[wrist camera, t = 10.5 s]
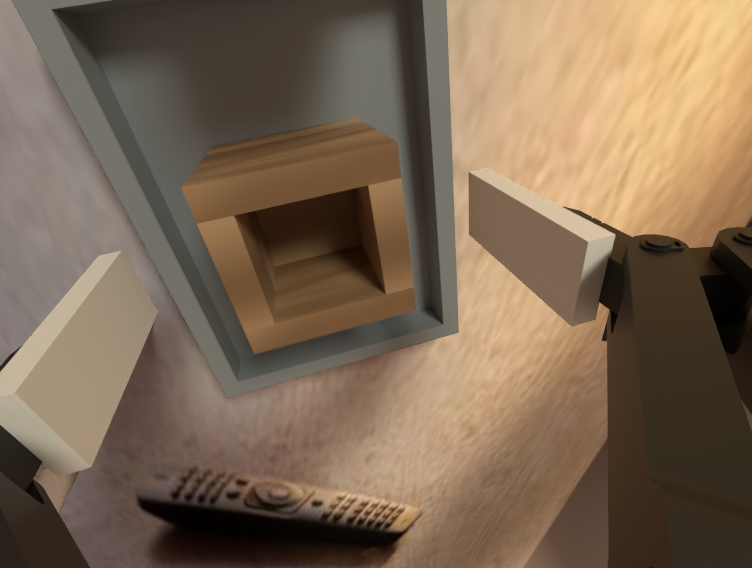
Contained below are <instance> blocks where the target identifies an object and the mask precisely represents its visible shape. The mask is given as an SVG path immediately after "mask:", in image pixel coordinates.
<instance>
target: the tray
mask: <svg viewBox="0 0 752 568" xmlns="http://www.w3.org/2000/svg"><path fill="white" fill-rule="evenodd" d="M12 2H13V4H14V6H15V7H16V9H17V11H18V13H19V15H20V17H21V18H22V20H23V22H24V24H25V26H26V28H27V30H28V31H29V33H30V35H31V37H32V39H33V41H34V42H35V44H36V46H37V48H38V50H39V52H40V54H41V55H42V57H43V59H44V61H45V63H46V65H47V66H48V68H49V70H50V72H51V74H52V76H53V78H54V79H55V81H56V83H57V85H58V87H59V89H60V90H61V92H62V94H63V96H64V98H65V100H66V102H67V103H68V105H69V107H70V109H71V111H72V113H73V114H74V116H75V118H76V120H77V122H78V124H79V126H80V127H81V129H82V131H83V133H84V135H85V137H86V139H87V140H88V142H89V144H90V146H91V148H92V150H93V151H94V153H95V155H96V157H97V159H98V161H99V163H100V164H101V166H102V168H103V170H104V172H105V174H106V175H107V177H108V179H109V181H110V183H111V185H112V187H113V188H114V190H115V192H116V194H117V196H118V198H119V199H120V201H121V203H122V205H123V207H124V209H125V211H126V212H127V214H128V216H129V218H130V220H131V222H132V223H133V225H134V227H135V229H136V231H137V233H138V235H139V236H140V238H141V240H142V242H143V244H144V246H145V247H146V249H147V251H148V253H149V255H150V257H151V259H152V260H153V262H154V264H155V266H156V268H157V270H158V271H159V273H160V275H161V277H162V279H163V281H164V283H165V284H166V286H167V288H168V290H169V292H170V294H171V295H172V297H173V299H174V301H175V303H176V305H177V307H178V308H179V310H180V312H181V314H182V316H183V318H184V320H185V321H186V323H187V325H188V327H189V329H190V331H191V332H192V334H193V336H194V338H195V340H196V342H197V344H198V345H199V347H200V349H201V351H202V353H203V355H204V356H205V358H206V360H207V362H208V364H209V366H210V368H211V369H212V371H213V373H214V375H215V377H216V379H217V380H218V382H219V384H220V386H221V388H222V390H223V392H224V393H225V395H226V397H227V398H229V397H233V396H236V395H240V394H243V393H247V392H250V391H254V390H257V389H261V388H264V387H268V386H272V385H275V384H279V383H282V382H286V381H289V380H293V379H296V378H300V377H303V376H307V375H310V374H314V373H317V372H321V371H324V370H328V369H332V368H335V367H339V366H342V365H346V364H349V363H353V362H356V361H360V360H363V359H367V358H370V357H374V356H377V355H381V354H384V353H388V352H392V351H395V350H399V349H402V348H406V347H409V346H413V345H416V344H420V343H423V342H427V341H430V340H434V339H437V338H441V337H444V336H448V335H451V334H455V333H459V329H458V302H457V275H456V248H455V221H454V194H453V167H452V140H451V112H450V85H449V58H448V31H447V4H446V0H12ZM356 117H357V118H359V119H360V120H362V121H364V122H365V123H367V124H368V125H370V126H372V127H373V128H375V129H377V130H378V131H380V132H382V133H383V134H385V135H386V136H388V137H390V138H391V139H393V140H395V141H396V142H397V144H398V152H399V161H400V170H401V179H402V188H403V196H404V205H405V214H406V223H407V232H408V240H409V249H410V258H411V267H412V276H413V284H414V293H415V302H416V310H415V311H411V312H407V313H404V314H400V315H396V316H393V317H389V318H385V319H382V320H378V321H374V322H371V323H367V324H363V325H360V326H356V327H352V328H349V329H345V330H341V331H338V332H334V333H330V334H327V335H323V336H319V337H316V338H312V339H308V340H305V341H301V342H297V343H294V344H290V345H286V346H283V347H279V348H275V349H272V350H268V351H264V352H261V353H257V354H254V352H253V350H252V348H251V345H250V343H249V341H248V339H247V336H246V334H245V332H244V329H243V327H242V325H241V323H240V320H239V318H238V316H237V314H236V311H235V309H234V307H233V305H232V302H231V300H230V298H229V296H228V293H227V291H226V289H225V287H224V284H223V282H222V280H221V278H220V275H219V273H218V271H217V269H216V266H215V264H214V262H213V259H212V257H211V255H210V253H209V250H208V248H207V246H206V244H205V241H204V239H203V237H202V235H201V232H200V230H199V228H198V226H197V223H196V221H195V219H194V217H193V214H192V212H191V210H190V208H189V205H188V203H187V201H186V198H185V196H184V194H183V192H182V189H181V187H182V186H183V185H184V183H185V182H186V181H187V179H188V178H189V177H190V175H191V174H192V173H193V171H194V170H195V169H196V167H197V166H198V165H199V163H200V162H201V161H202V159H203V158H204V157H205V155H206V154H207V153H208V151H209V150H210V149H211V147H212V146H217V145H222V144H227V143H232V142H237V141H242V140H247V139H252V138H257V137H262V136H267V135H272V134H277V133H282V132H287V131H292V130H297V129H302V128H307V127H312V126H317V125H322V124H327V123H332V122H337V121H342V120H347V119H352V118H356Z"/></svg>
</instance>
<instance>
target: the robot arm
mask: <svg viewBox="0 0 752 568" xmlns="http://www.w3.org/2000/svg"><path fill="white" fill-rule="evenodd" d="M469 235H470V236H472V237H473V238H474V239H475V240H476V241H477V242H478V243H479V244H480V245H482V246H483V247H484V248H485V249H486V250H487V251H488V252H489V253H490V254H492V255H493V256H494V257H495V258H496V259H497V260H498V261H499V262H500V263H502V264H503V265H504V266H505V267H506V268H507V269H508V270H509V271H510V272H512V273H513V274H514V275H515V276H516V277H517V278H518V279H519V280H520V281H522V282H523V283H524V284H525V285H526V286H527V287H528V288H529V289H531V290H532V291H533V292H534V293H535V294H536V295H537V296H538V297H539V298H541V299H542V300H543V301H544V302H545V303H546V304H547V305H548V306H549V307H551V308H552V309H553V310H554V311H555V312H556V313H557V314H558V315H559V316H561V317H562V318H563V319H564V320H565V321H566V322H567V323H568V324H569V325H571V326H575V325H578V324H582V323H585V322H589V321H592V320H595V319H596V314H597V310H598V306H599V302H600V303H601V304H603V305H604V306H605V307H607V308H608V309H609V310H610V311H609V315H608V319H607V322H606V326H605V330H604V334H603V338H602V341H607V387H608V512H609V513H608V516H609V517H608V523H609V524H608V525H609V557H608V568H752V431H751V427H750V425H749V422H748V419H747V416H746V413H745V410H744V407H743V404H742V401H743V403H744V404H745V405H746V407H747V408H748V410H749V411H750V412H751V414H752V227H746V228H743V227H735V228H726V229H724V230H721V231H719V233H718V234H717V236H716V239H715V241H714V244H713V246H712V247H702V248H689V247H688V246H687V244H685V243H684V242H682V241H680V240H678V239H675V238H672V237H668V236H662V235H655V234H652V235H639V236H635V237H631V236H629V235H627V234H625V233H623V232H621V231H619V230H617V229H615V228H613V227H611V226H609V225H607V224H605V223H601V221H599V220H597V219H595V218H592V217H591V216H589V215H587V214H585V213H583V212H581V211H579V210H575V209H571V208H567V207H562V206H560V205H558V204H556V203H554V202H552V201H550V200H548V199H546V198H544V197H542V196H540V195H538V194H536V193H535V192H533V191H531V190H529V189H527V188H525V187H523V186H521V185H519V184H517V183H515V182H513V181H511V180H509V179H508V178H506V177H504V176H502V175H500V174H498V173H496V172H494V171H492V170H490V169H488V168H483V169H478V170H474V171H470V172H469ZM157 314H158V310H157V309H156V307H155V305H154V304H153V302H152V300H151V299H150V297H149V295H148V294H147V292H146V290H145V289H144V287H143V285H142V283H141V282H140V280H139V278H138V277H137V275H136V273H135V272H134V270H133V268H132V267H131V265H130V263H129V262H128V260H127V258H126V257H125V255H124V253H123V252H122V251H117V252H113V253H109V254H104V255H100V256H98V257H97V259H96V260H95V261H94V262H93V263H92V264H91V266H90V267H89V268H88V269H87V270H86V271H85V273H84V274H83V275H82V276H81V277H80V279H79V280H78V281H77V282H76V283H75V284H74V286H73V287H72V288H71V289H70V290H69V292H68V293H67V294H66V295H65V296H64V297H63V299H62V300H61V301H60V302H59V303H58V304H57V306H56V307H55V308H54V309H53V310H52V312H51V313H50V314H49V315H48V316H47V317H46V319H45V320H44V321H43V322H42V323H41V325H40V326H39V327H38V328H37V329H36V330H35V332H34V333H33V334H32V335H31V336H30V338H29V339H28V340H27V341H26V342H25V343H24V345H22V346H21V347H20V348H18V349H17V350H16V351H15V352H13V353H12V354H11V355H10V356H9V357H8V358H7V359H6V360H5V361H4V363H3V364H2V365H1V366H0V568H90V567H89V565H88V564H87V562H86V560H85V558H84V557H83V555H82V553H81V552H80V550H79V548H78V546H77V545H76V543H75V541H74V539H73V538H72V536H71V534H70V532H69V531H68V529H67V527H66V526H65V524H64V522H63V520H62V519H61V517H60V515H59V513H58V512H57V510H56V508H55V506H54V505H53V503H52V501H51V500H50V498H49V496H48V494H47V493H46V491H45V489H44V487H43V486H41V485H40V484H39V483H38V482H36V481H35V480H34V479H33V478H34V477H35V475H36V473H37V471H38V469H39V468H40V466H41V464H43V465H44V466H45V467H47V468H48V469H49V470H50V471H51V472H52V473H53V474H55V475H56V476H57V477H60V476H64V475H67V474H71V473H74V472H77V471H81V470H84V469H88V468H91V467H92V464H93V462H94V460H95V457H96V455H97V453H98V450H99V448H100V446H101V444H102V441H103V439H104V437H105V434H106V432H107V430H108V427H109V425H110V423H111V420H112V418H113V416H114V413H115V411H116V409H117V406H118V404H119V402H120V399H121V397H122V395H123V393H124V390H125V388H126V386H127V383H128V381H129V379H130V376H131V374H132V372H133V369H134V367H135V365H136V362H137V360H138V358H139V355H140V353H141V351H142V349H143V346H144V344H145V342H146V339H147V337H148V335H149V332H150V330H151V328H152V325H153V323H154V321H155V318H156V316H157ZM741 400H742V401H741Z"/></svg>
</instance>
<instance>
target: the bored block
mask: <svg viewBox="0 0 752 568" xmlns="http://www.w3.org/2000/svg"><path fill="white" fill-rule="evenodd" d="M181 189H182V192H183V194H184V196H185V198H186V201H187V203H188V205H189V208H190V210H191V212H192V214H193V217H194V219H195V221H196V223H197V226H198V228H199V230H200V232H201V235H202V237H203V239H204V241H205V244H206V246H207V248H208V250H209V253H210V255H211V257H212V259H213V262H214V264H215V266H216V269H217V271H218V273H219V275H220V278H221V280H222V282H223V284H224V287H225V289H226V291H227V293H228V296H229V298H230V300H231V302H232V305H233V307H234V309H235V311H236V314H237V316H238V318H239V320H240V323H241V325H242V327H243V329H244V332H245V334H246V336H247V339H248V341H249V343H250V345H251V348H252V350H253V352H254V354H257V353H261V352H264V351H268V350H272V349H275V348H279V347H283V346H286V345H290V344H294V343H297V342H301V341H305V340H308V339H312V338H316V337H319V336H323V335H327V334H330V333H334V332H338V331H341V330H345V329H349V328H352V327H356V326H360V325H363V324H367V323H371V322H374V321H378V320H382V319H385V318H389V317H393V316H396V315H400V314H404V313H407V312H411V311H415V310H416V302H415V293H414V284H413V276H412V267H411V258H410V249H409V240H408V232H407V223H406V214H405V205H404V196H403V188H402V179H401V170H400V161H399V152H398V144H397V142H396V141H395V140H393V139H391V138H390V137H388V136H386V135H385V134H383V133H382V132H380V131H378V130H377V129H375V128H373V127H372V126H370V125H368V124H367V123H365V122H364V121H362V120H360V119H359V118H357V117H356V118H352V119H347V120H342V121H337V122H332V123H327V124H322V125H317V126H312V127H307V128H302V129H297V130H292V131H287V132H282V133H277V134H272V135H267V136H262V137H257V138H252V139H247V140H242V141H237V142H232V143H227V144H222V145H217V146H212V147H211V149H210V150H209V151H208V153H207V154H206V155H205V157H204V158H203V159H202V161H201V162H200V163H199V165H198V166H197V167H196V169H195V170H194V171H193V173H192V174H191V175H190V177H189V178H188V179H187V181H186V182H185V183H184V185H183V186H182V187H181Z"/></svg>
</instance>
